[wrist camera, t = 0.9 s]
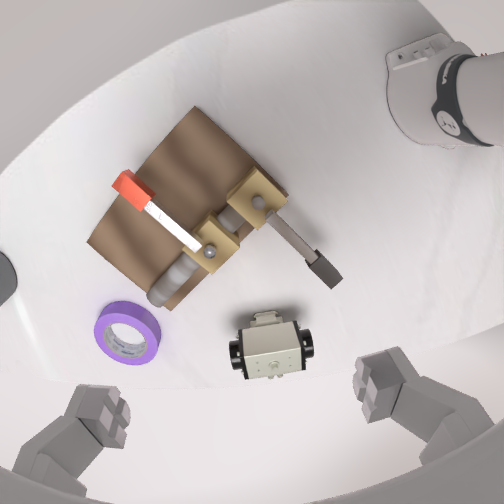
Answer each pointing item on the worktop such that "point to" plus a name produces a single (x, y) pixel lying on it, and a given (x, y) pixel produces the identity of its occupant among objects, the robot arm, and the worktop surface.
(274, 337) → the pneumatic valve
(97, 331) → the masking tape
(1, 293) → the water bottle
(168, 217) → the red lever
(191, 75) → the worktop surface
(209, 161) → the pipe board
